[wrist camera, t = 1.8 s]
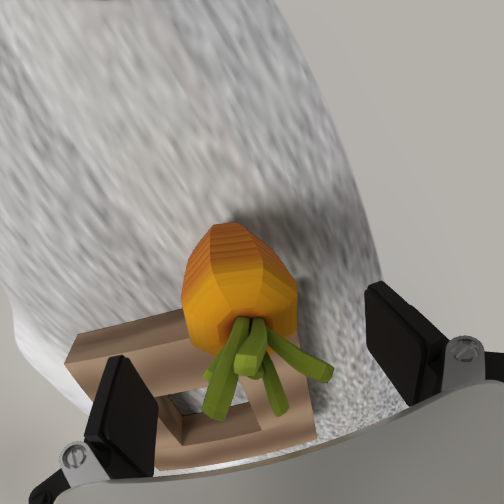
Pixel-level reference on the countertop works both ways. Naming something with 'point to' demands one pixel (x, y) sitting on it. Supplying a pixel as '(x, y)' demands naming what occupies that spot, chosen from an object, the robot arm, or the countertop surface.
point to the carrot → (243, 316)
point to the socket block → (189, 378)
